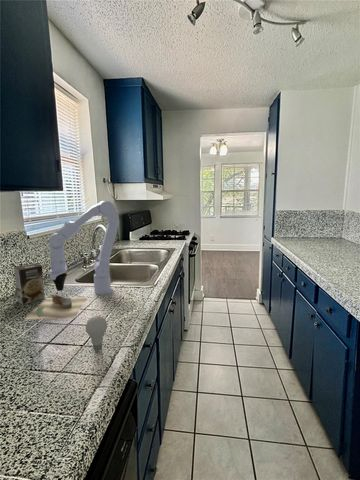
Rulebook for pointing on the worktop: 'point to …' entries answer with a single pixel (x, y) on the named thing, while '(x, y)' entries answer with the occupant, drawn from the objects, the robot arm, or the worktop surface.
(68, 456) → the worktop surface
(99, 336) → the lightbulb
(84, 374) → the worktop surface
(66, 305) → the lever
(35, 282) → the coffee box
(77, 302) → the dial board
